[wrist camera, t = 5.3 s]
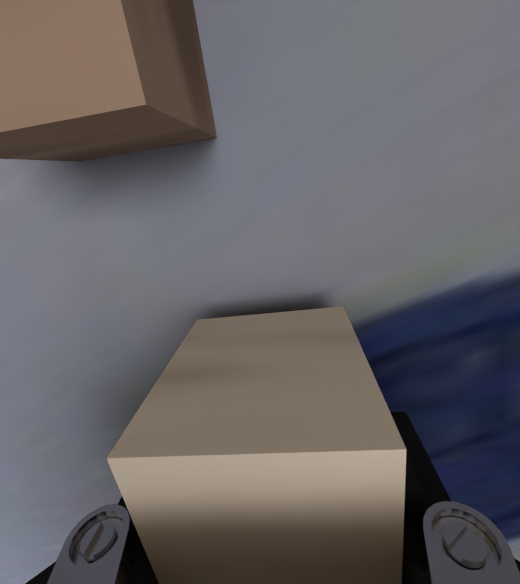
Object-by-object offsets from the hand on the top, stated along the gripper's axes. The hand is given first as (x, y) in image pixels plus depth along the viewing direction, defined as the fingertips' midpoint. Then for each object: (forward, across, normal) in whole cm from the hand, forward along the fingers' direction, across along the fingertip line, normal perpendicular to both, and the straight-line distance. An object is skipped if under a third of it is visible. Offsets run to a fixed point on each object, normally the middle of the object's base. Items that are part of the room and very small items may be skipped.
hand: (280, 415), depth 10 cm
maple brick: (0, 0, 0) cm, 0 cm away
